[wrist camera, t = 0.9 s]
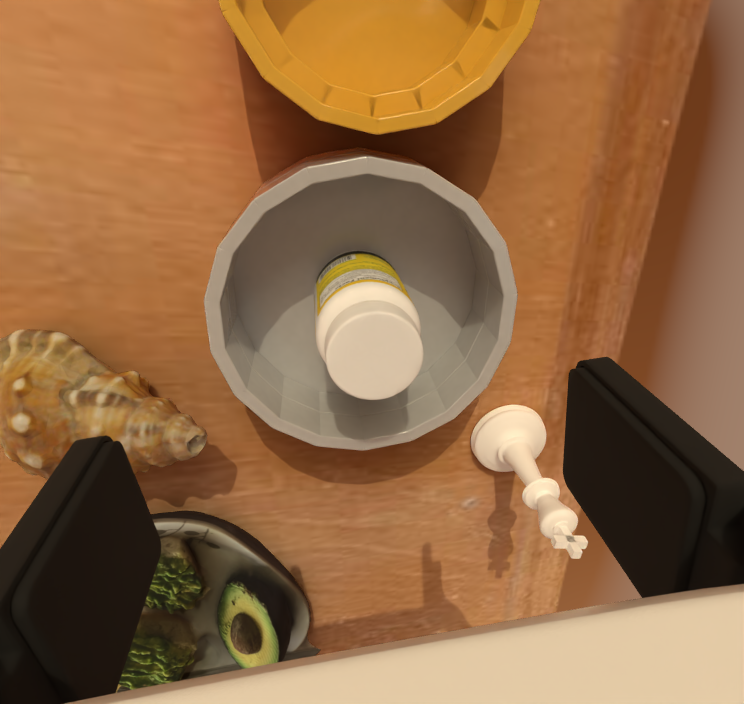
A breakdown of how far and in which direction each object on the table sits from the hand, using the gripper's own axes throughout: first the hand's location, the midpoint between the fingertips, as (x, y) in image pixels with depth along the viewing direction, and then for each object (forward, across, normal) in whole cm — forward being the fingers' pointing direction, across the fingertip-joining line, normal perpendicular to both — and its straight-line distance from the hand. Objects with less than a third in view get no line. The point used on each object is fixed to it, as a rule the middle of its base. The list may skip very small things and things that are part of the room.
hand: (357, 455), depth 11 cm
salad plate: (+19, +14, +24) cm, 34 cm away
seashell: (+19, +14, +6) cm, 24 cm away
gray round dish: (+18, -1, +3) cm, 19 cm away
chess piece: (+19, -10, +14) cm, 25 cm away
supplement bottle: (+18, -1, +3) cm, 18 cm away
